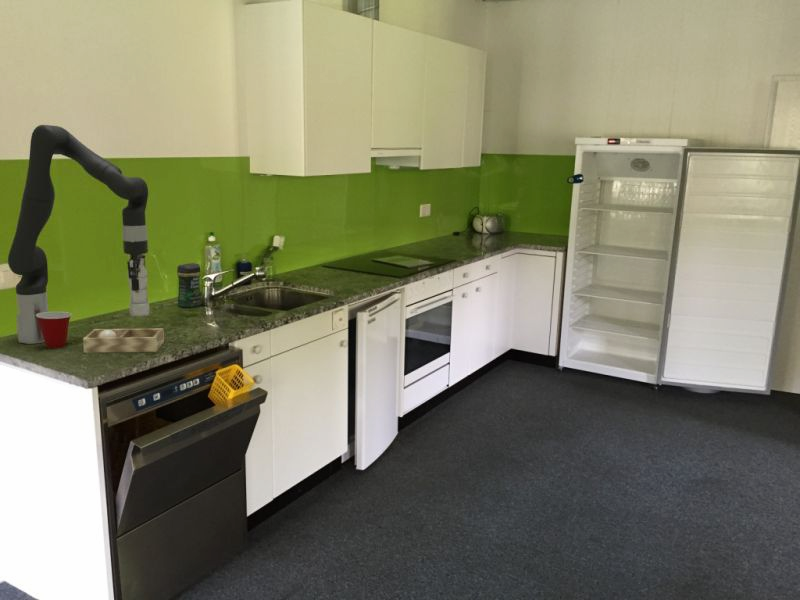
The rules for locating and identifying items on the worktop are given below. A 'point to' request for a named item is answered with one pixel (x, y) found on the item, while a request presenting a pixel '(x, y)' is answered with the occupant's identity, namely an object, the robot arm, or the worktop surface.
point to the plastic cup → (54, 328)
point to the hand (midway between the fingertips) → (138, 288)
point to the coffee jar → (189, 285)
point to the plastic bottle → (139, 295)
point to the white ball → (107, 334)
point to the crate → (124, 341)
